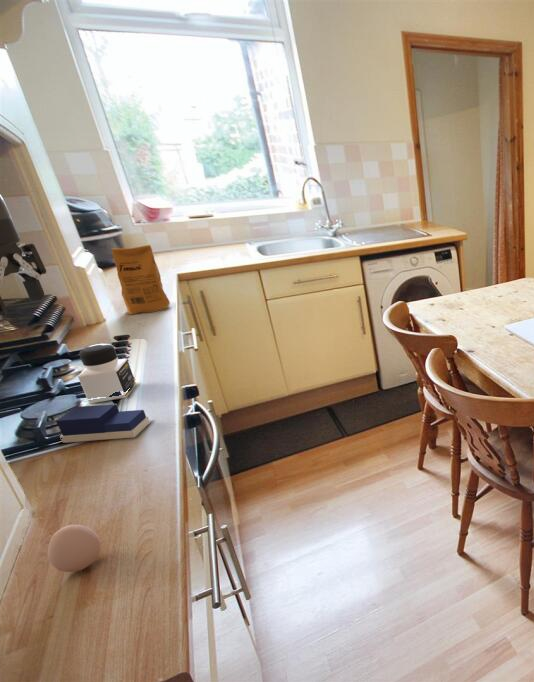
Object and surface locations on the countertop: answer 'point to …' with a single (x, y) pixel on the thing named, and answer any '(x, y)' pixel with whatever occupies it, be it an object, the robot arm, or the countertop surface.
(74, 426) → the navy and white sponge
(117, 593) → the countertop surface
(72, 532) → the egg
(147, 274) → the coffee package
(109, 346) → the medicine bottle
